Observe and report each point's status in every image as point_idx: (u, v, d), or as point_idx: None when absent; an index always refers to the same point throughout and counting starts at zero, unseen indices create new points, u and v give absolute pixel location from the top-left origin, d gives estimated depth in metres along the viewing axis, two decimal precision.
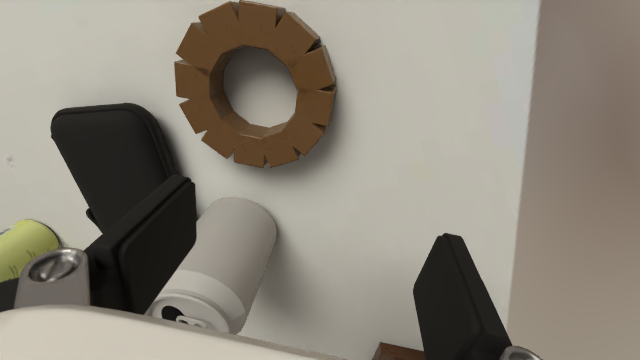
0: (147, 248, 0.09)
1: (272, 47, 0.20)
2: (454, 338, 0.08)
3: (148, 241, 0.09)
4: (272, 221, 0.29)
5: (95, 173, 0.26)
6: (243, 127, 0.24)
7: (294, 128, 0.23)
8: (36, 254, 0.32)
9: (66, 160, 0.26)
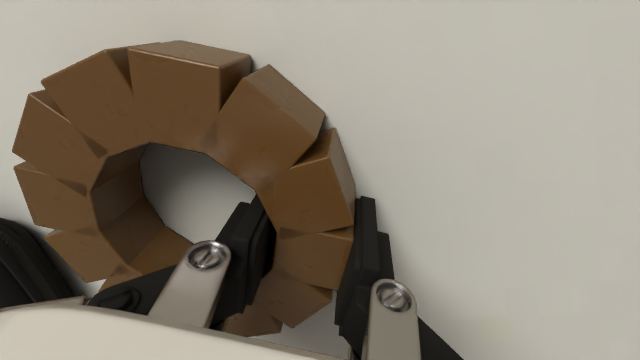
0: (262, 241, 0.10)
1: (216, 151, 0.09)
2: (347, 278, 0.09)
3: (264, 235, 0.10)
4: None
5: None
6: None
7: (271, 289, 0.11)
8: None
9: None
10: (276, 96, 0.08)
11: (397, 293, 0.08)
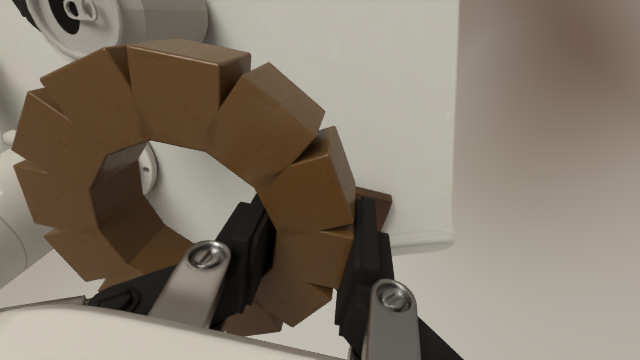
0: (262, 241, 0.10)
1: (215, 149, 0.09)
2: (347, 278, 0.09)
3: (264, 235, 0.10)
4: None
5: None
6: None
7: (271, 288, 0.11)
8: None
9: None
10: (276, 93, 0.08)
11: (397, 293, 0.08)
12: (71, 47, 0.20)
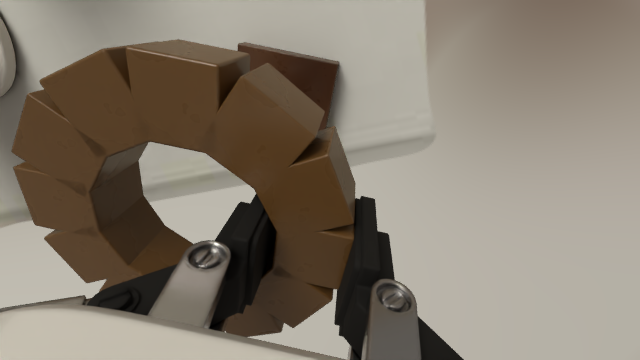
0: (262, 241, 0.10)
1: (215, 150, 0.09)
2: (347, 278, 0.09)
3: (264, 235, 0.10)
4: None
5: None
6: None
7: (272, 289, 0.11)
8: None
9: None
10: (275, 94, 0.08)
11: (397, 293, 0.08)
12: None
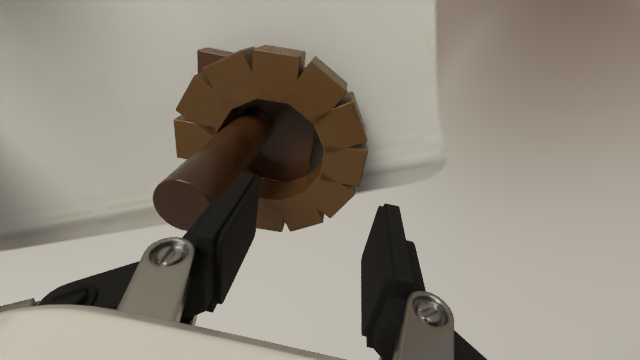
0: (232, 239, 0.10)
1: (293, 101, 0.17)
2: (377, 289, 0.09)
3: (233, 232, 0.10)
4: None
5: None
6: None
7: (319, 190, 0.19)
8: None
9: None
10: (325, 71, 0.16)
11: (434, 307, 0.08)
12: None
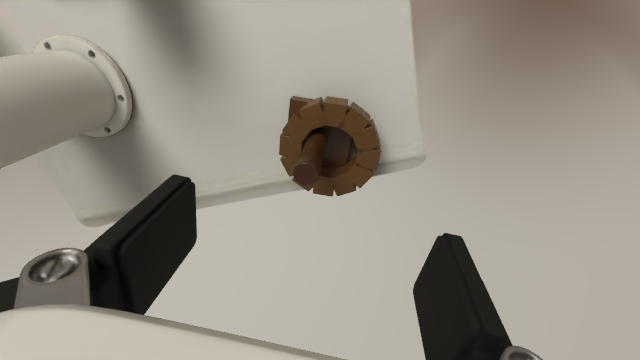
0: (147, 248, 0.09)
1: (342, 126, 0.33)
2: (454, 338, 0.08)
3: (148, 241, 0.09)
4: None
5: None
6: None
7: (354, 172, 0.36)
8: None
9: None
10: (359, 111, 0.33)
11: None
12: None
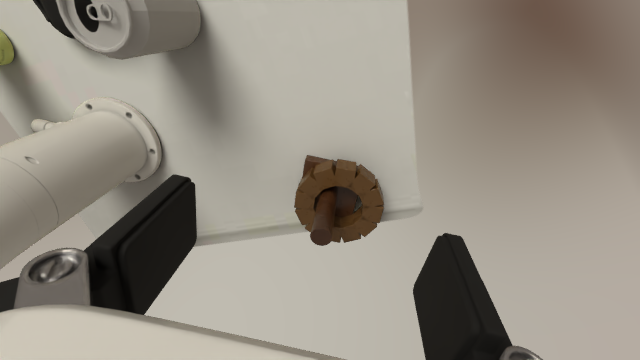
0: (147, 248, 0.09)
1: (351, 187, 0.38)
2: (454, 338, 0.08)
3: (148, 241, 0.09)
4: None
5: None
6: None
7: (360, 223, 0.41)
8: None
9: None
10: (366, 175, 0.38)
11: None
12: (92, 42, 0.26)
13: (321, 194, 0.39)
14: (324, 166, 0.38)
